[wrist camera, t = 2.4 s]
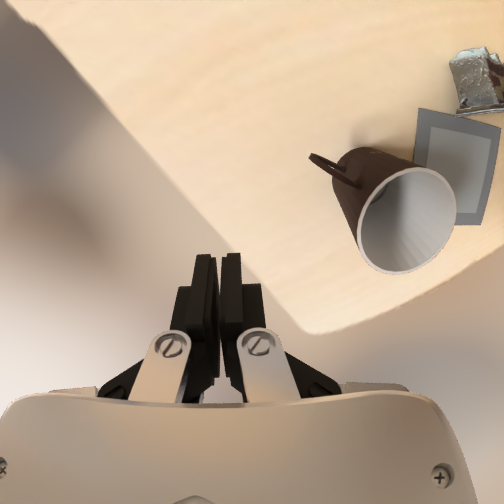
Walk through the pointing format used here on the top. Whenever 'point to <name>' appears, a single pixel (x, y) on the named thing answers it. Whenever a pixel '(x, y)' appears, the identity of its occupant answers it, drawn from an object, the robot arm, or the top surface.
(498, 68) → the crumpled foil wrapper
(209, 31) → the top surface
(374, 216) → the coffee mug
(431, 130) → the mat
